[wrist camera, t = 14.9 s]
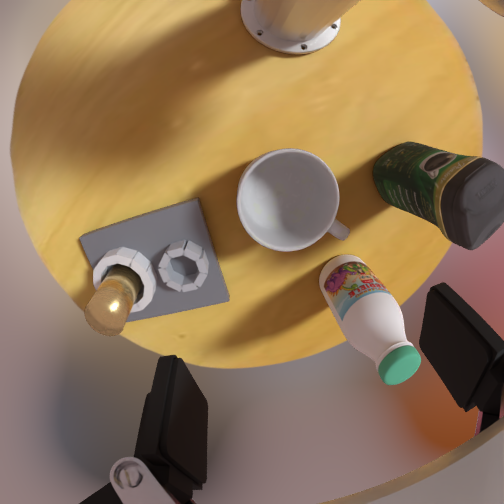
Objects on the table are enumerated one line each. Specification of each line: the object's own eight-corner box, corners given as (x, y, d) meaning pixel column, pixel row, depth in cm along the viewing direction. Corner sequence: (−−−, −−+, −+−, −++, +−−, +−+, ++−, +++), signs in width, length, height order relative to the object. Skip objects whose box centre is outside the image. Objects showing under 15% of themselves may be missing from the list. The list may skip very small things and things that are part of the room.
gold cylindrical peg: (105, 265, 36) (77, 305, 27) (135, 256, 36) (110, 297, 27) (120, 294, 38) (97, 338, 29) (149, 287, 38) (131, 332, 29)
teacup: (217, 192, 35) (214, 209, 28) (275, 127, 32) (288, 126, 25) (296, 255, 40) (311, 285, 32) (350, 199, 37) (377, 217, 29)
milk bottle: (366, 288, 43) (428, 378, 25) (321, 303, 43) (368, 404, 25) (362, 246, 40) (439, 331, 22) (313, 261, 40) (369, 361, 22)
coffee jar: (384, 211, 38) (469, 271, 21) (363, 164, 35) (456, 200, 18) (430, 180, 36) (521, 220, 19) (412, 133, 33) (512, 153, 16)
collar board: (83, 234, 36) (71, 245, 32) (198, 197, 35) (194, 205, 32) (123, 317, 42) (116, 333, 38) (229, 295, 41) (229, 311, 38)
